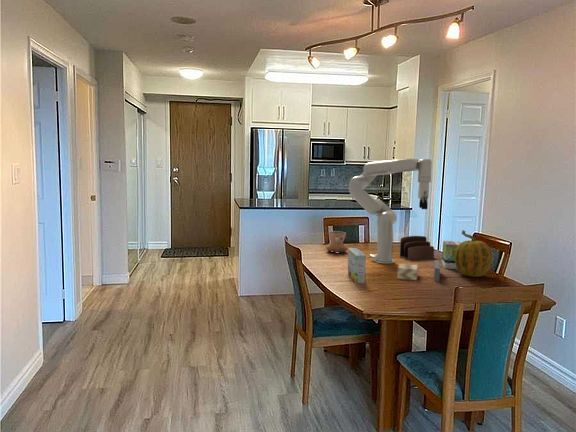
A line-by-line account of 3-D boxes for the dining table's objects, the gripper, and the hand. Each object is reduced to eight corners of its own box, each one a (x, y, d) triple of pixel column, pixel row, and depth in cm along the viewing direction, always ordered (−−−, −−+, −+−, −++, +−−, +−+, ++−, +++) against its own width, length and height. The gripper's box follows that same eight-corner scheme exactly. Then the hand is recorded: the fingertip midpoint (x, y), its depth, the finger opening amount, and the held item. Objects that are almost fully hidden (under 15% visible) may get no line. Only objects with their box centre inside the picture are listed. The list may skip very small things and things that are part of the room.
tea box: (462, 269, 278) (463, 244, 277) (444, 268, 280) (445, 244, 279) (458, 264, 293) (459, 240, 291) (441, 263, 295) (442, 240, 293)
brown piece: (347, 254, 321) (348, 234, 319) (326, 254, 322) (326, 233, 321) (346, 250, 338) (347, 230, 337) (326, 249, 340) (327, 230, 338)
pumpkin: (449, 271, 272) (451, 228, 270) (483, 272, 272) (485, 229, 269) (460, 279, 254) (462, 233, 251) (496, 280, 253) (499, 233, 251)
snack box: (346, 274, 264) (347, 247, 262) (356, 274, 264) (357, 247, 263) (355, 284, 243) (356, 255, 241) (366, 283, 243) (367, 255, 242)
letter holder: (399, 257, 314) (400, 236, 313) (425, 255, 321) (426, 235, 319) (407, 260, 305) (408, 238, 303) (434, 258, 311) (435, 237, 310)
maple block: (397, 278, 255) (397, 268, 255) (399, 274, 267) (399, 263, 266) (416, 280, 252) (416, 269, 252) (417, 275, 264) (418, 264, 263)
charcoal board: (434, 281, 250) (434, 268, 249) (434, 272, 271) (434, 260, 270) (439, 281, 249) (439, 268, 248) (438, 272, 270) (439, 260, 269)
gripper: (416, 179, 292) (414, 207, 294) (420, 180, 275) (418, 209, 277) (428, 179, 291) (427, 207, 293) (433, 180, 274) (432, 210, 276)
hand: (423, 208), depth 285 cm, fingers open, 9 cm apart
